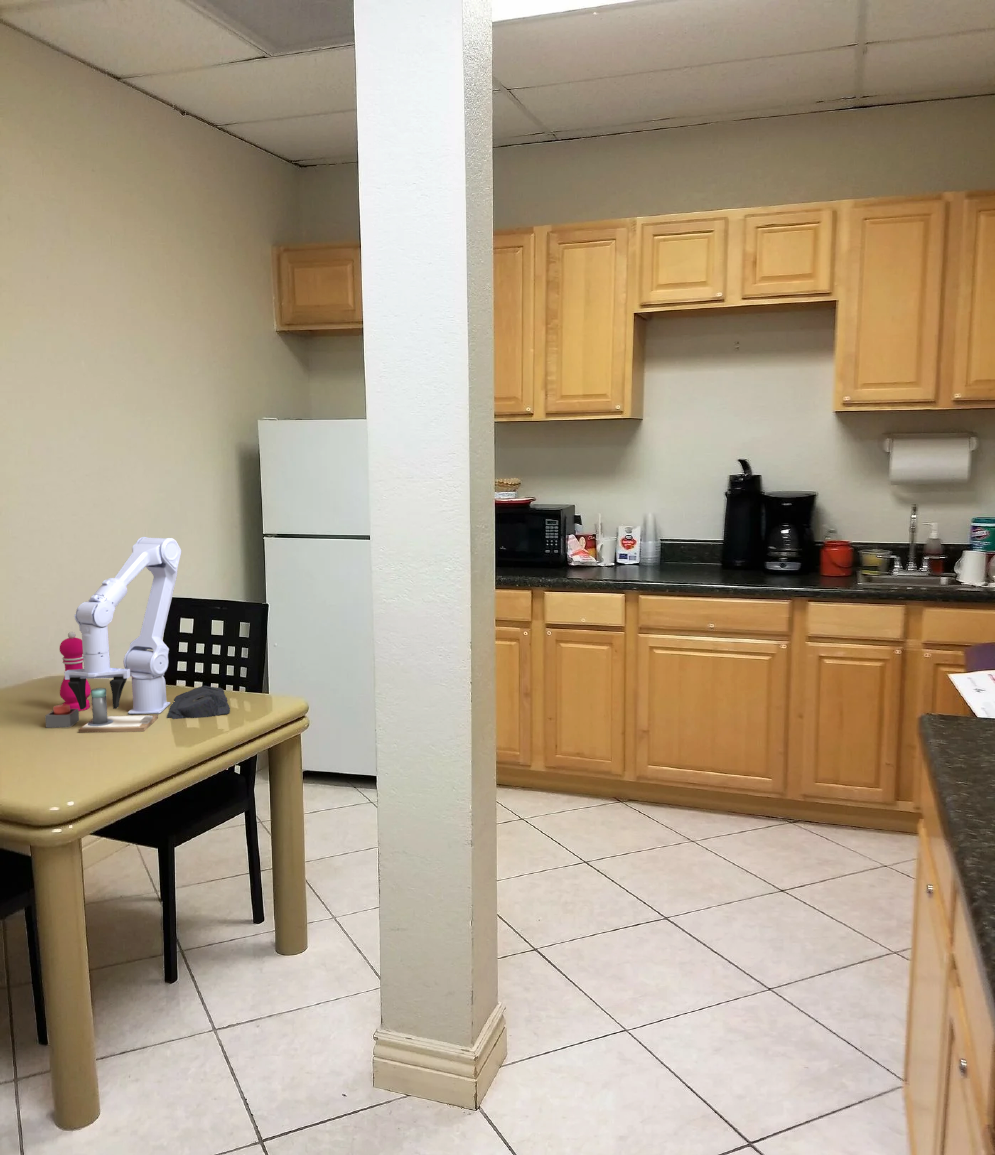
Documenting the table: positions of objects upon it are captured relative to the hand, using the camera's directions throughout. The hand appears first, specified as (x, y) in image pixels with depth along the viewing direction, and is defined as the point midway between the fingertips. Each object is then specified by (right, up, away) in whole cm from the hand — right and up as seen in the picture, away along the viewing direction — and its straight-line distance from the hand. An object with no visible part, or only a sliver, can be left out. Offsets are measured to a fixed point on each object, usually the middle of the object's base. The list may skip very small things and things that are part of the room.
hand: (99, 708), depth 222 cm
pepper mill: (-13, -3, +17) cm, 21 cm away
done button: (-10, -2, +3) cm, 11 cm away
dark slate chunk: (+18, -3, +18) cm, 26 cm away
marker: (0, -3, 0) cm, 4 cm away
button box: (-10, -4, +3) cm, 11 cm away
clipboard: (+4, -4, +2) cm, 6 cm away
